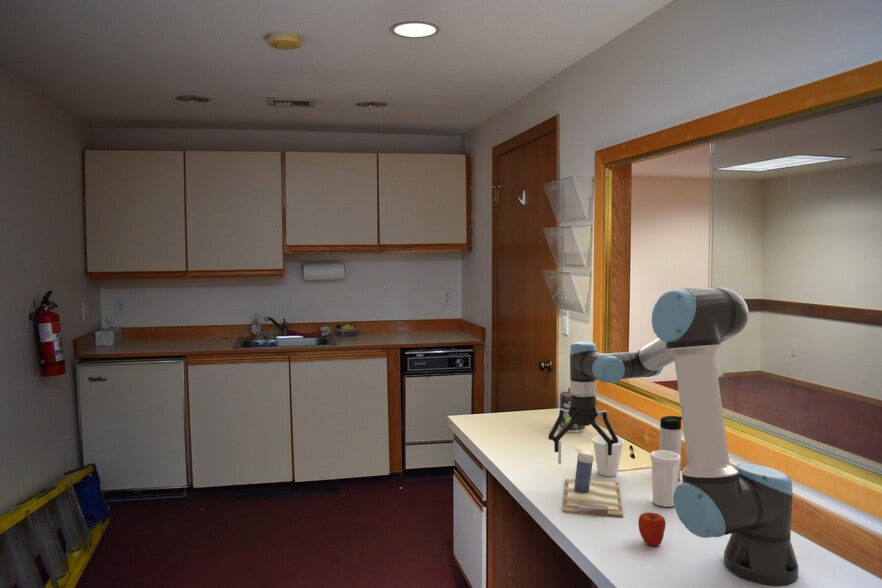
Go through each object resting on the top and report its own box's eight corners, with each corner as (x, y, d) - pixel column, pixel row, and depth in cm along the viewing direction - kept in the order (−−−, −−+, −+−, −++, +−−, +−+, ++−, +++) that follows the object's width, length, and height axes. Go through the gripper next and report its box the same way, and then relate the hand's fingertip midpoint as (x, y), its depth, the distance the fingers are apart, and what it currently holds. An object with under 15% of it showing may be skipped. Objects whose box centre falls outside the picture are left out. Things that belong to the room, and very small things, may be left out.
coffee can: (584, 433, 246) (585, 398, 245) (558, 431, 249) (558, 396, 248) (586, 426, 256) (587, 392, 255) (561, 424, 259) (561, 390, 258)
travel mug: (682, 483, 195) (684, 420, 193) (660, 482, 196) (661, 419, 194) (679, 476, 201) (680, 414, 199) (657, 474, 202) (659, 413, 200)
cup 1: (588, 476, 201) (588, 442, 201) (596, 466, 210) (596, 433, 209) (619, 481, 197) (620, 446, 196) (626, 471, 206) (626, 438, 205)
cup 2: (660, 511, 175) (661, 460, 174) (643, 499, 183) (644, 451, 181) (685, 507, 177) (686, 458, 176) (667, 496, 185) (668, 448, 184)
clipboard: (622, 517, 171) (623, 511, 171) (562, 512, 174) (562, 506, 174) (618, 484, 194) (618, 478, 194) (565, 480, 198) (565, 474, 198)
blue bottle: (586, 494, 184) (591, 457, 183) (571, 489, 187) (575, 453, 186) (591, 489, 188) (595, 453, 187) (576, 485, 191) (580, 449, 190)
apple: (633, 543, 156) (634, 514, 155) (645, 535, 160) (646, 507, 160) (657, 552, 151) (658, 522, 151) (669, 543, 156) (670, 514, 155)
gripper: (625, 392, 188) (625, 462, 190) (541, 389, 194) (541, 457, 195) (627, 398, 181) (626, 471, 182) (539, 395, 187) (539, 465, 188)
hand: (582, 464), depth 189 cm, fingers open, 13 cm apart
